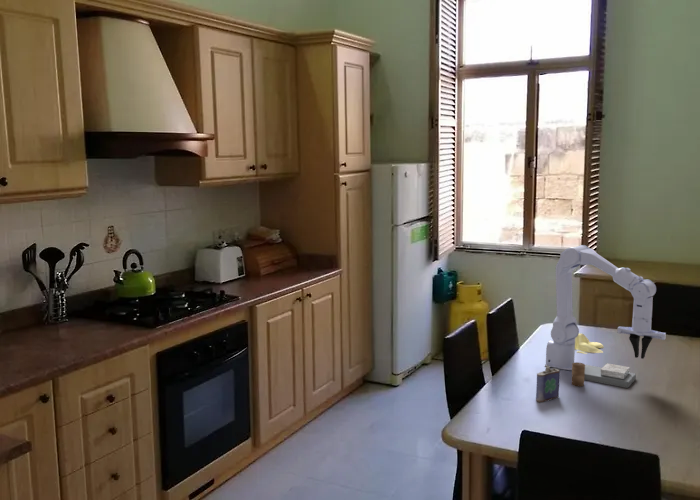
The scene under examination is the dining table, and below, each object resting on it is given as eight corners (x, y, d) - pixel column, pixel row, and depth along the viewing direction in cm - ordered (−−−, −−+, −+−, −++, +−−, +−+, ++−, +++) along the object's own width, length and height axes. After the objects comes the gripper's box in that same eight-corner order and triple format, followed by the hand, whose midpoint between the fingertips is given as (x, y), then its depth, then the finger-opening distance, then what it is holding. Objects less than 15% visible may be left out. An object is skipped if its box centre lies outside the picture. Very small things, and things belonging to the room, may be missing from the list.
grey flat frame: (572, 377, 230) (573, 371, 230) (581, 369, 238) (582, 364, 238) (628, 387, 220) (628, 382, 219) (635, 379, 228) (635, 373, 227)
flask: (539, 403, 208) (541, 369, 206) (532, 400, 210) (534, 367, 208) (560, 397, 212) (562, 364, 211) (553, 394, 215) (555, 362, 213)
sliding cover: (600, 374, 226) (600, 369, 225) (606, 368, 232) (606, 363, 231) (623, 379, 221) (624, 373, 221) (629, 372, 227) (629, 367, 227)
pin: (569, 385, 223) (570, 364, 222) (573, 381, 226) (574, 361, 225) (581, 387, 220) (582, 367, 219) (585, 384, 224) (586, 363, 223)
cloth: (546, 350, 262) (547, 335, 261) (562, 339, 277) (562, 324, 276) (605, 360, 249) (606, 344, 248) (618, 348, 264) (619, 332, 263)
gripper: (615, 316, 220) (613, 356, 222) (663, 323, 212) (661, 364, 214) (621, 312, 226) (619, 351, 228) (668, 318, 217) (665, 358, 219)
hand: (639, 357), depth 221 cm, fingers closed
